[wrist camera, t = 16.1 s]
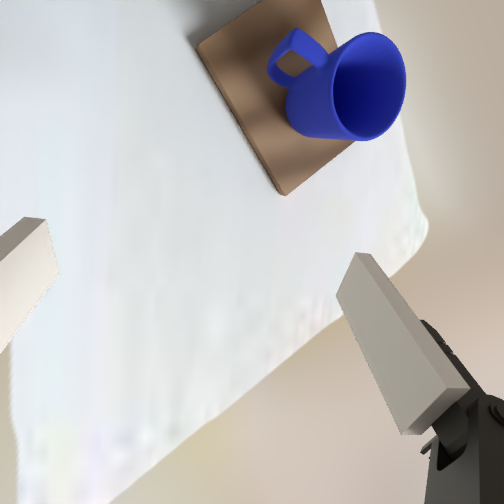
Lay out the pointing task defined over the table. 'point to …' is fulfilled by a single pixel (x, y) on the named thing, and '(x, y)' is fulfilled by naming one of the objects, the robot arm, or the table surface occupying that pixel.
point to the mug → (342, 86)
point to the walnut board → (270, 85)
